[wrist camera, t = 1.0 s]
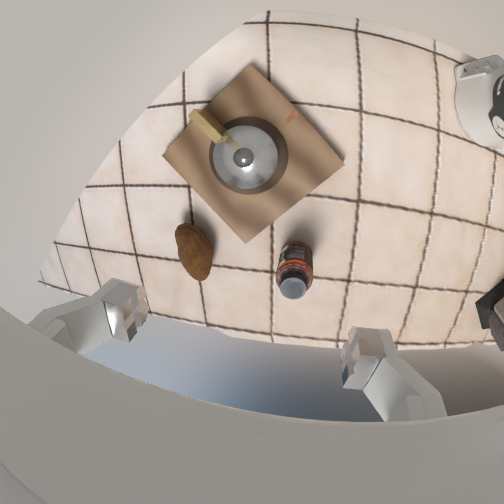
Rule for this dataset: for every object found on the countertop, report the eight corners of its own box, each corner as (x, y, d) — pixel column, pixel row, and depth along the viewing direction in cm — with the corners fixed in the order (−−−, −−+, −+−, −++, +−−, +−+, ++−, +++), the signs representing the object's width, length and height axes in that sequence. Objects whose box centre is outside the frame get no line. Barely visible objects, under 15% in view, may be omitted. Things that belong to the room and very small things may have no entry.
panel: (252, 67, 37) (250, 64, 35) (343, 163, 41) (345, 164, 39) (167, 154, 46) (161, 155, 44) (247, 239, 50) (245, 244, 48)
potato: (204, 212, 50) (189, 225, 44) (228, 265, 54) (218, 284, 48) (175, 223, 52) (158, 237, 46) (199, 273, 56) (187, 291, 50)
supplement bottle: (275, 246, 50) (266, 278, 40) (305, 235, 48) (305, 265, 38) (287, 273, 52) (282, 308, 42) (316, 263, 50) (318, 298, 40)
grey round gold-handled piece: (291, 159, 40) (289, 163, 35) (245, 198, 44) (237, 208, 39) (226, 92, 37) (215, 87, 32) (185, 135, 41) (169, 136, 36)
